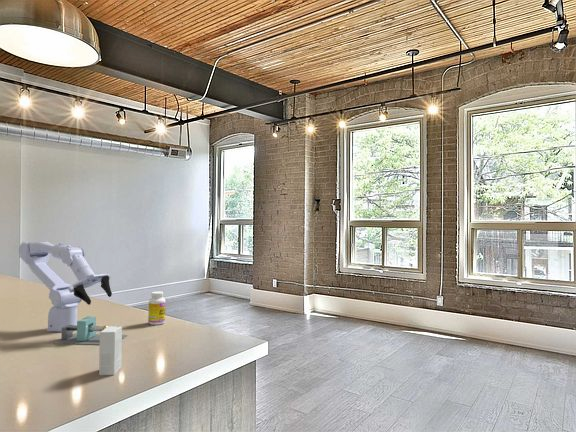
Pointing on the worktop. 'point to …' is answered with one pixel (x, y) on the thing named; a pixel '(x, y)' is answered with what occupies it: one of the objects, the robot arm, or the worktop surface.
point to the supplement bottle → (156, 309)
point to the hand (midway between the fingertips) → (100, 299)
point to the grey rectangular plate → (92, 341)
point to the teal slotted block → (85, 328)
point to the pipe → (68, 330)
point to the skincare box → (110, 350)
